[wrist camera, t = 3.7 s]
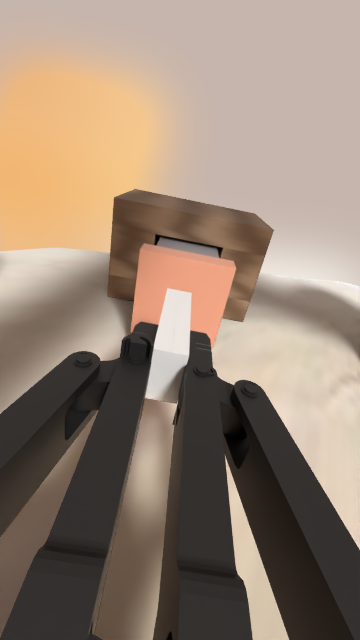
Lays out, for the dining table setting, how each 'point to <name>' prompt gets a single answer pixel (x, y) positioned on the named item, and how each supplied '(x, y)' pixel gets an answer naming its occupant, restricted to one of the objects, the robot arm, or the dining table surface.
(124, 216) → the block
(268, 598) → the dining table surface
